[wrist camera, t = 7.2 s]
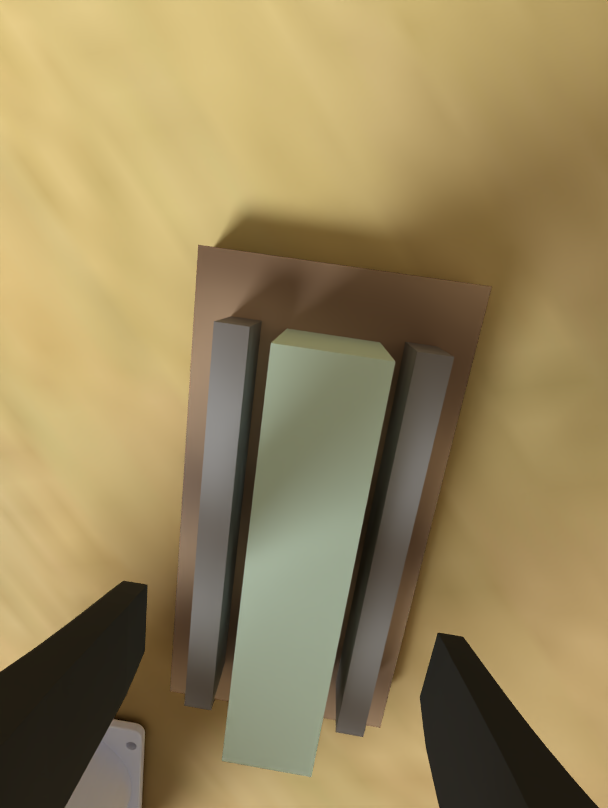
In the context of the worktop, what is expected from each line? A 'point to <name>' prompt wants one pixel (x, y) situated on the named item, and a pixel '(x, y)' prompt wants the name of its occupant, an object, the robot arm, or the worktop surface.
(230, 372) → the cradle
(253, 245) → the worktop surface
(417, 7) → the worktop surface
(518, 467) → the worktop surface
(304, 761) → the block
